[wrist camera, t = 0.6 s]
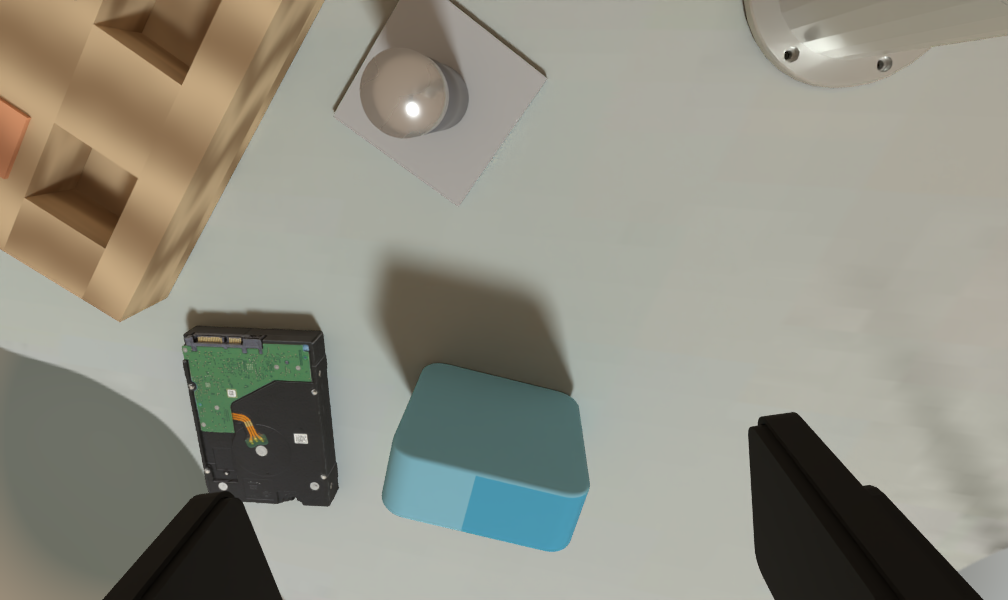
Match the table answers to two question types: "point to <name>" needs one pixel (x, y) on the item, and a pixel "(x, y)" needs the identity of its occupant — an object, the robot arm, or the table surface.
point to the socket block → (129, 131)
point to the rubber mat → (491, 87)
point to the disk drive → (262, 413)
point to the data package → (489, 458)
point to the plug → (411, 93)
